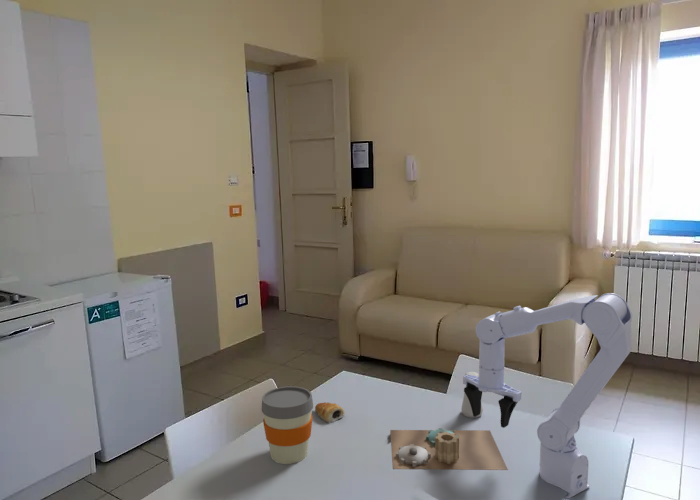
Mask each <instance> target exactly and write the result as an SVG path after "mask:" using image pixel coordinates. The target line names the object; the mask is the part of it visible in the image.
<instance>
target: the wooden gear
mask: <svg viewBox="0 0 700 500" xmlns="http://www.w3.org/2000/svg"><path fill="white" fill-rule="evenodd" d="M435 458H438V461H439V462H447V464H450V462H457V461H458V458H459V437H456V434H454V433H447V432H444V433H438V434H437V437H435Z"/></svg>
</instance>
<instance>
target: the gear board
mask: <svg viewBox="0 0 700 500" xmlns="http://www.w3.org/2000/svg"><path fill="white" fill-rule="evenodd" d="M389 432H390V433H389V434H390V436H389V437H390V444H391V460H392V469H393V470H461V471H462V470H464V471H465V470H471V471H472V470H476V471H477V470H478V471H479V470H480V471H481V470H483V471H484V470H485V471H486V470H487V471H488V470H490V471H491V470H492V471H494V470H495V471H500V470H501V471H508V470H509V468H508V467H507V465H506V463H505V462H506V461H504V458H503V456H502V454H501V451H500V449H499V447H498V445H497V443H496V441H495V438H494V436H493V434H492V432H491V430H487V429H486V430H484V429H483V430H480V429H479V430H474V429H473V430H472V429H469V430H468V429H461V430H460V429H459V430H457V429H456V430H455V429H450V430H449V429H448V430H447V429H443V428H442V427H440V428H438V429H390V431H389ZM444 432H447V433H454V434H456V437H459V458H458V461H457V462H450V464H447V462H439V461H438V458H435V437H437V434H438V433H444Z"/></svg>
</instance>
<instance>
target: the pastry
mask: <svg viewBox="0 0 700 500" xmlns="http://www.w3.org/2000/svg"><path fill="white" fill-rule="evenodd" d="M314 410H315V411H316V413H317V415H318V418H321V420H323V421H324V422H327V423H329V422H330V423H334V422H336V421H338V420H339V419H343V417H344V416H345V413H346V412H345V410H344V408H343V407H341V406H340V405H338V404H337V403H333V402H332V403H331V402H319V403H317V404H316V405H315V407H314Z"/></svg>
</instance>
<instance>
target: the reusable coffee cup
mask: <svg viewBox="0 0 700 500" xmlns="http://www.w3.org/2000/svg"><path fill="white" fill-rule="evenodd" d="M313 408H314V402H313V394H312V392H311V391H310V390H309V389H307V388H305V387H300V386H290V385H289V386H281V387H276V388H273V389H270V390H268V391H267V392H266V393H264V394H263V395H262V398H261V412H262V414H263V418H262V419H263V420H262V421H263V422H262V424H263V428H264V434H265V439H266V441H267V442H268V446H269V447H268V448H269V452H270V457H271V459H272V460H273V461H274V462H275V463H278V464H283V465H292V464H296V463H298V462H301V461H303V460H304V459H306V457H307V456H308V452H309V451H308V450H309V439H310V437H311V435H312V429H313V428H312V425H313V413H312V411H313Z"/></svg>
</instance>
